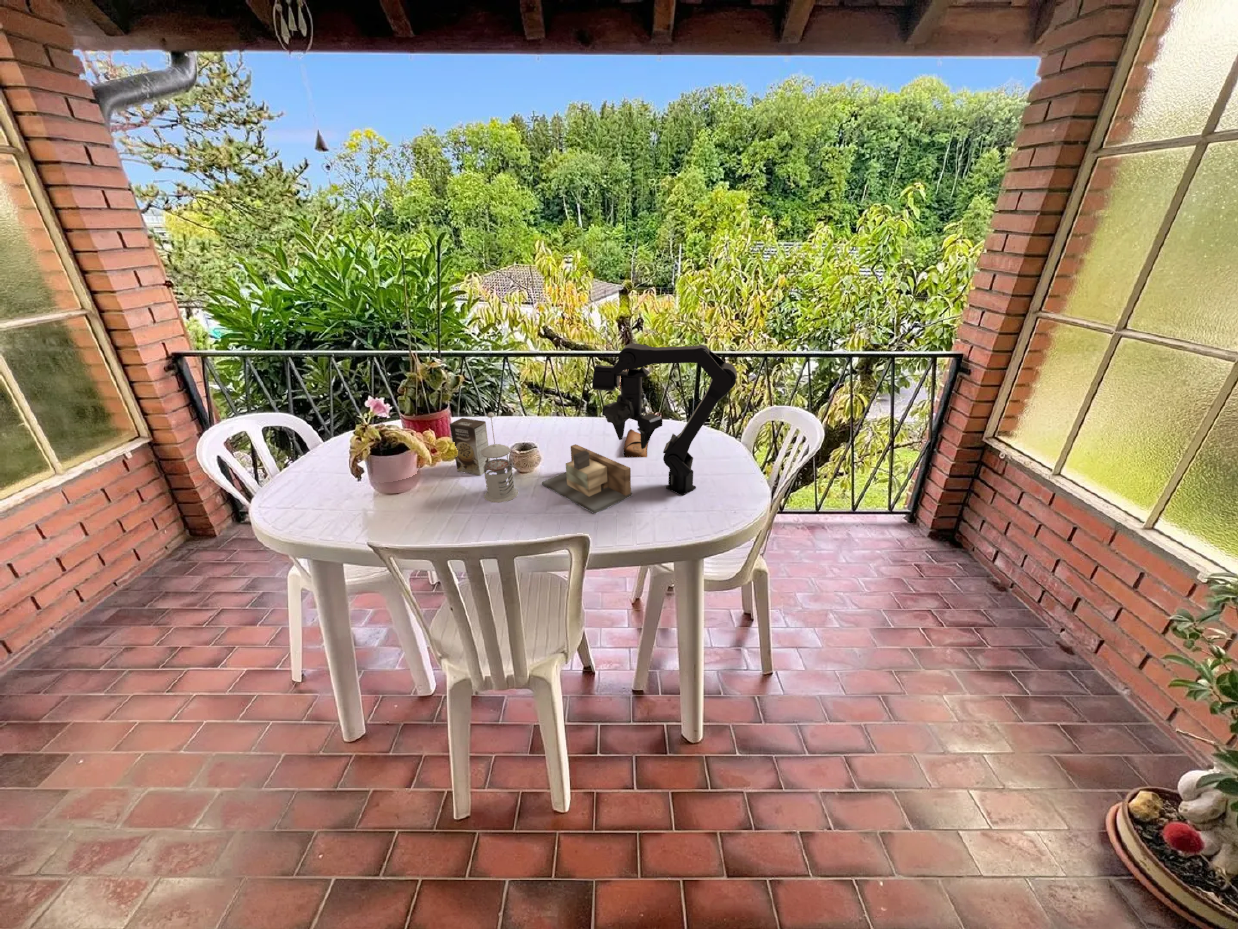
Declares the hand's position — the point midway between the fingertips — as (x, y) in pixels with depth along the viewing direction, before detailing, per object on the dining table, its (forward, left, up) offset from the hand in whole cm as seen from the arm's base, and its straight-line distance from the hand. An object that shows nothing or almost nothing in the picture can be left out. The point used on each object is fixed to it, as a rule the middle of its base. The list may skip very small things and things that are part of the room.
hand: (631, 444), depth 148 cm
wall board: (+7, +12, -13) cm, 19 cm away
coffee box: (+43, +28, -13) cm, 53 cm away
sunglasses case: (+19, -21, -14) cm, 31 cm away
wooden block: (+7, +11, -12) cm, 18 cm away
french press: (+23, +30, -13) cm, 40 cm away
